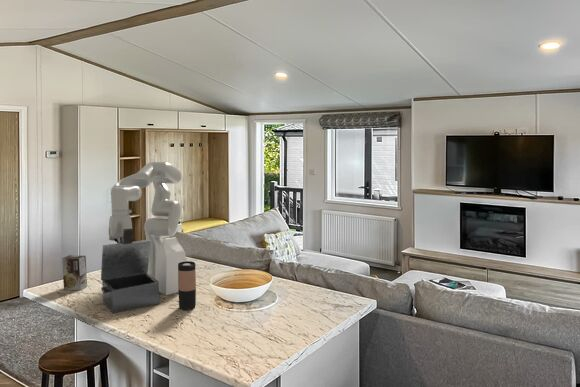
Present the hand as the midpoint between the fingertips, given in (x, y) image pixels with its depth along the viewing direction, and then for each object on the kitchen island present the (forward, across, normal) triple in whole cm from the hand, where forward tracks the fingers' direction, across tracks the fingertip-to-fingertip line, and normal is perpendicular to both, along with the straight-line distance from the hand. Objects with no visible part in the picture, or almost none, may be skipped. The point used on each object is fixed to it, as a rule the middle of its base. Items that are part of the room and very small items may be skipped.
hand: (121, 251), depth 213 cm
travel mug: (+22, -19, +33) cm, 44 cm away
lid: (-1, 0, +9) cm, 9 cm away
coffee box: (+21, +17, -23) cm, 36 cm away
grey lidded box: (+21, 0, +13) cm, 25 cm away
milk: (+21, -22, +5) cm, 31 cm away
